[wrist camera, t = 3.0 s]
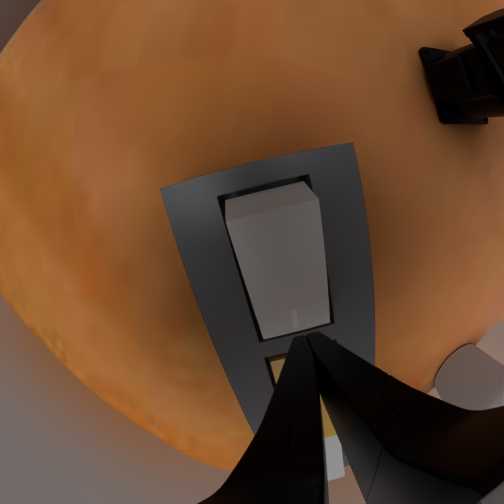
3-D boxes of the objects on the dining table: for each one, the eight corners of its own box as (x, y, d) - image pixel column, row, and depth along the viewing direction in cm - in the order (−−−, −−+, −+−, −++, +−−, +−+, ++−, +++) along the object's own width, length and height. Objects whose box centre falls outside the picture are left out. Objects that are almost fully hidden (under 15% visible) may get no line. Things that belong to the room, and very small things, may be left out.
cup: (437, 347, 22) (501, 425, 10) (489, 325, 21) (550, 381, 10) (417, 404, 24) (458, 475, 13) (468, 380, 24) (511, 436, 13)
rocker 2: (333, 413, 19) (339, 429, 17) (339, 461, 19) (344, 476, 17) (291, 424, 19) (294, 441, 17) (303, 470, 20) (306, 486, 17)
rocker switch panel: (322, 148, 16) (352, 142, 11) (353, 426, 24) (365, 459, 20) (180, 183, 16) (155, 190, 12) (273, 446, 25) (276, 481, 20)
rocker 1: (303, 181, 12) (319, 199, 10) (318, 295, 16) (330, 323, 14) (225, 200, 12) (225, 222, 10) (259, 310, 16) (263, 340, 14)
